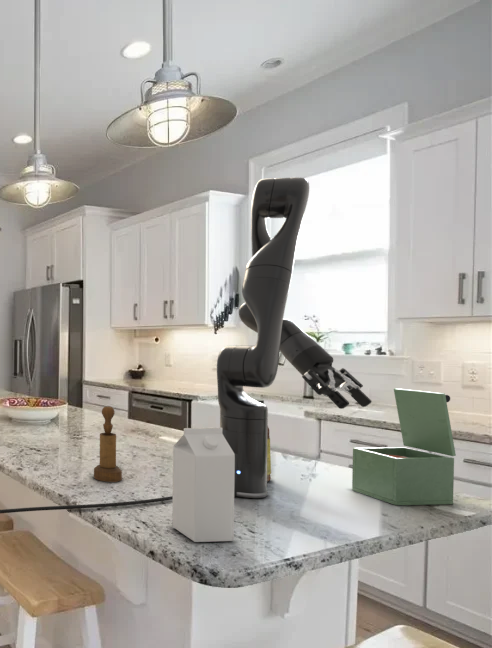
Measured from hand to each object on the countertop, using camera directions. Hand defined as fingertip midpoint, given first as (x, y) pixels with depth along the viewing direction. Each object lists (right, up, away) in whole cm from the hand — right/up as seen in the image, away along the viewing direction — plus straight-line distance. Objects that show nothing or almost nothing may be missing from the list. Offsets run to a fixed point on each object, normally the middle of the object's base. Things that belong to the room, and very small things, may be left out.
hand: (356, 405), depth 116 cm
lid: (+9, -3, -6) cm, 11 cm away
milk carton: (-50, -20, -27) cm, 60 cm away
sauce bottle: (-18, -19, +8) cm, 28 cm away
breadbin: (+5, -19, -6) cm, 21 cm away
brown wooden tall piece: (-55, -19, +9) cm, 59 cm away
